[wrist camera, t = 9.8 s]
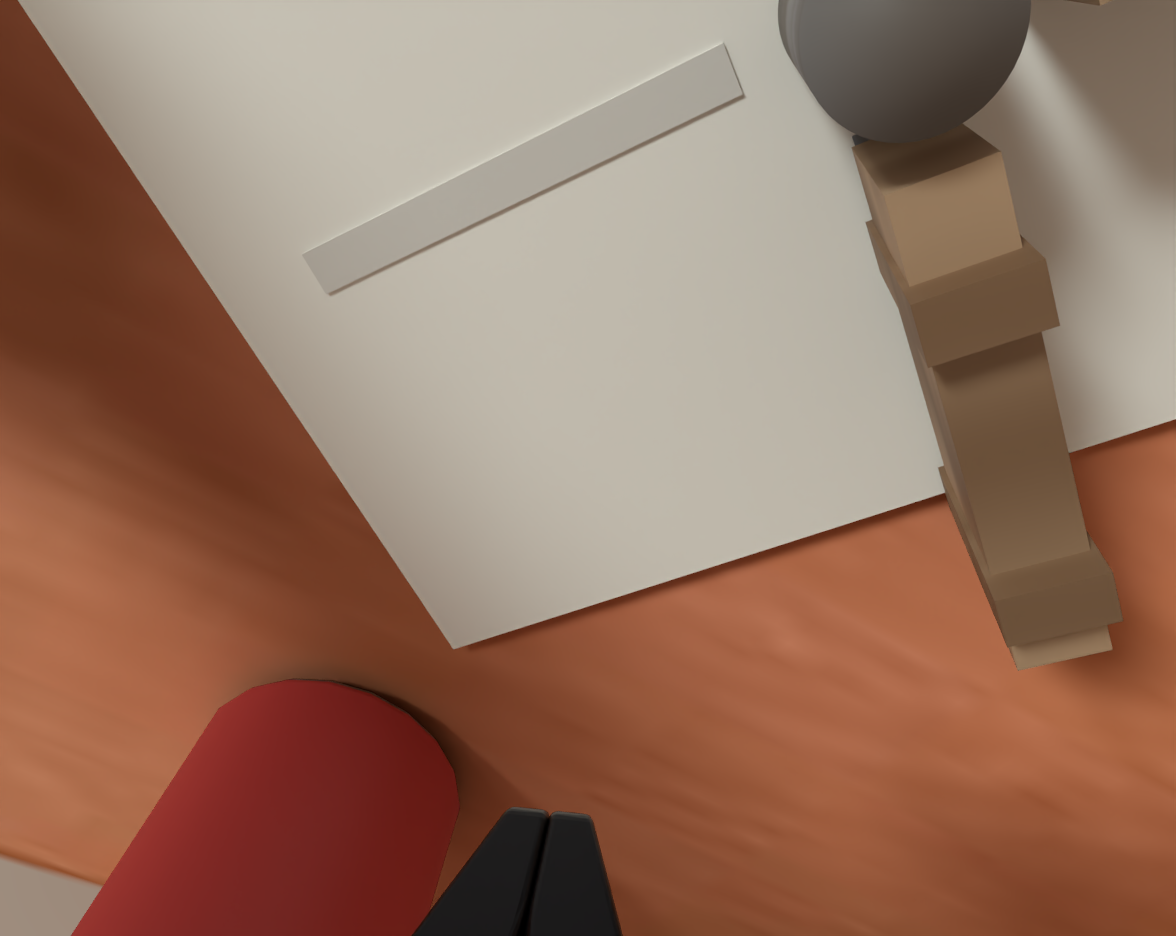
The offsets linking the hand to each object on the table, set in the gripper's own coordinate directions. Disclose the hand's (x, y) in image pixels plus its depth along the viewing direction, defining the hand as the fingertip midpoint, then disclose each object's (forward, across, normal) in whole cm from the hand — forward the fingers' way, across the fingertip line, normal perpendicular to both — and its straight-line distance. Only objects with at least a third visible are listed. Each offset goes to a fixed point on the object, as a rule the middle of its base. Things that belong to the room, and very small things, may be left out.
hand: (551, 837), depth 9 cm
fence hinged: (+9, -6, -2) cm, 11 cm away
